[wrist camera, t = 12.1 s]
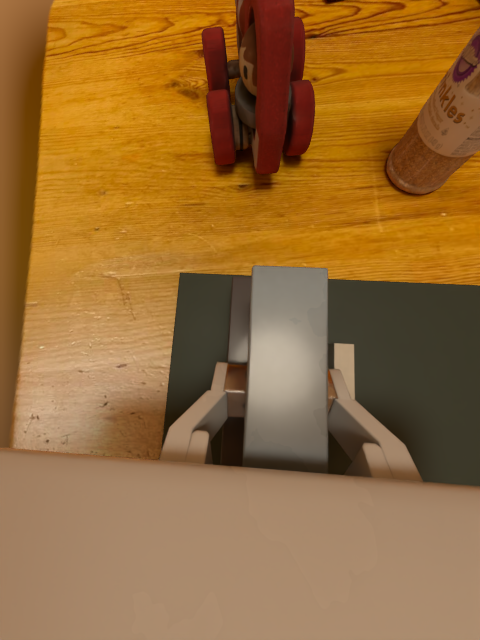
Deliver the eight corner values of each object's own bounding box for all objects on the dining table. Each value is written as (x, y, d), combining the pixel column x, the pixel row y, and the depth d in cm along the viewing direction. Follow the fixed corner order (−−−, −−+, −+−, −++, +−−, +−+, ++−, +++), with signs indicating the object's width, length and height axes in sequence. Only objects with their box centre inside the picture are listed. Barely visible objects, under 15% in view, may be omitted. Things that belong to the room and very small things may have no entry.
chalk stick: (347, 425, 15) (355, 431, 13) (327, 423, 15) (334, 429, 14) (346, 345, 15) (354, 344, 14) (327, 344, 16) (334, 343, 14)
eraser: (305, 483, 14) (375, 641, 6) (223, 476, 14) (191, 619, 7) (307, 291, 16) (363, 227, 8) (234, 288, 16) (221, 223, 8)
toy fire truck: (218, 198, 18) (177, -10, 8) (207, 68, 20) (162, -236, 10) (309, 188, 18) (389, -40, 8) (288, 57, 20) (329, -263, 10)
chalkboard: (633, 526, 14) (647, 532, 13) (160, 483, 15) (157, 487, 15) (591, 292, 16) (602, 290, 15) (181, 274, 17) (179, 272, 17)
